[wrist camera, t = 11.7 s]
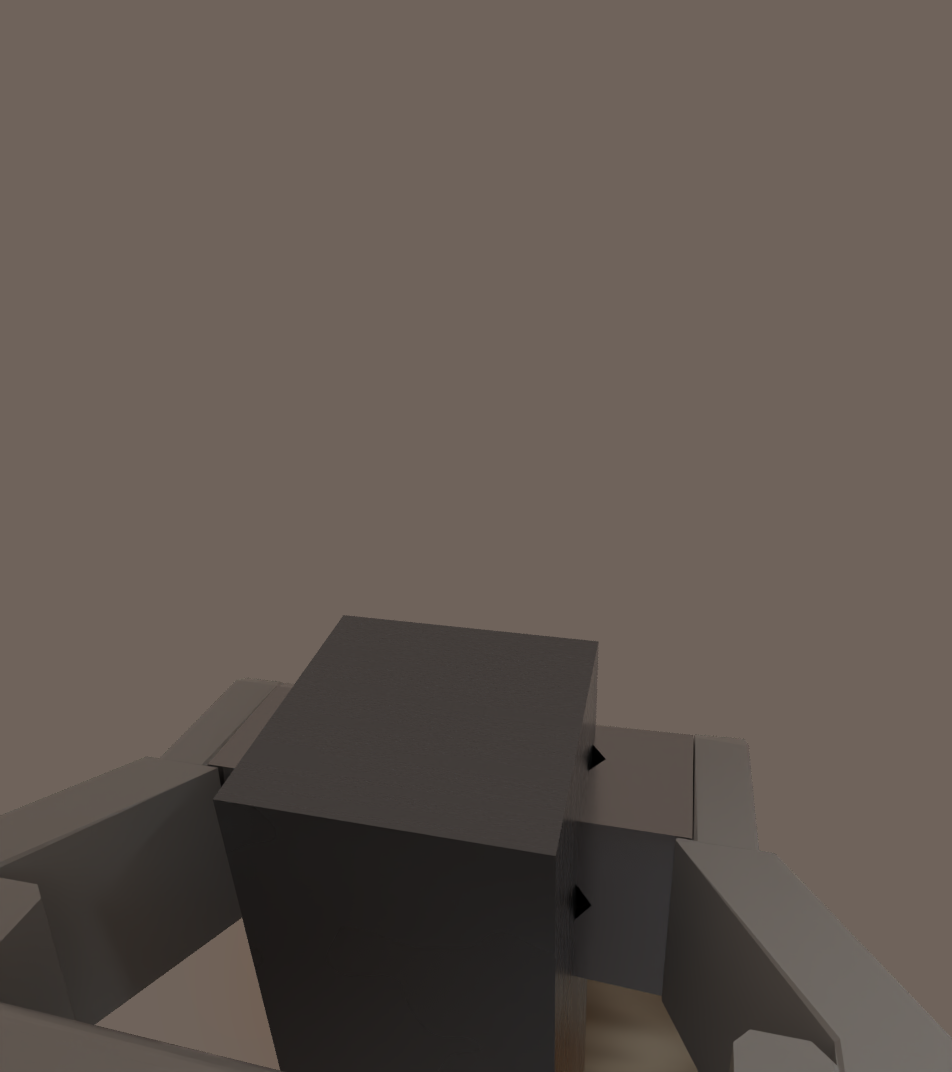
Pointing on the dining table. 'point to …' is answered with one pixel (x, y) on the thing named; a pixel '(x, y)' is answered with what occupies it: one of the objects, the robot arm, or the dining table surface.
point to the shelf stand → (631, 1032)
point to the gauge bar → (418, 851)
